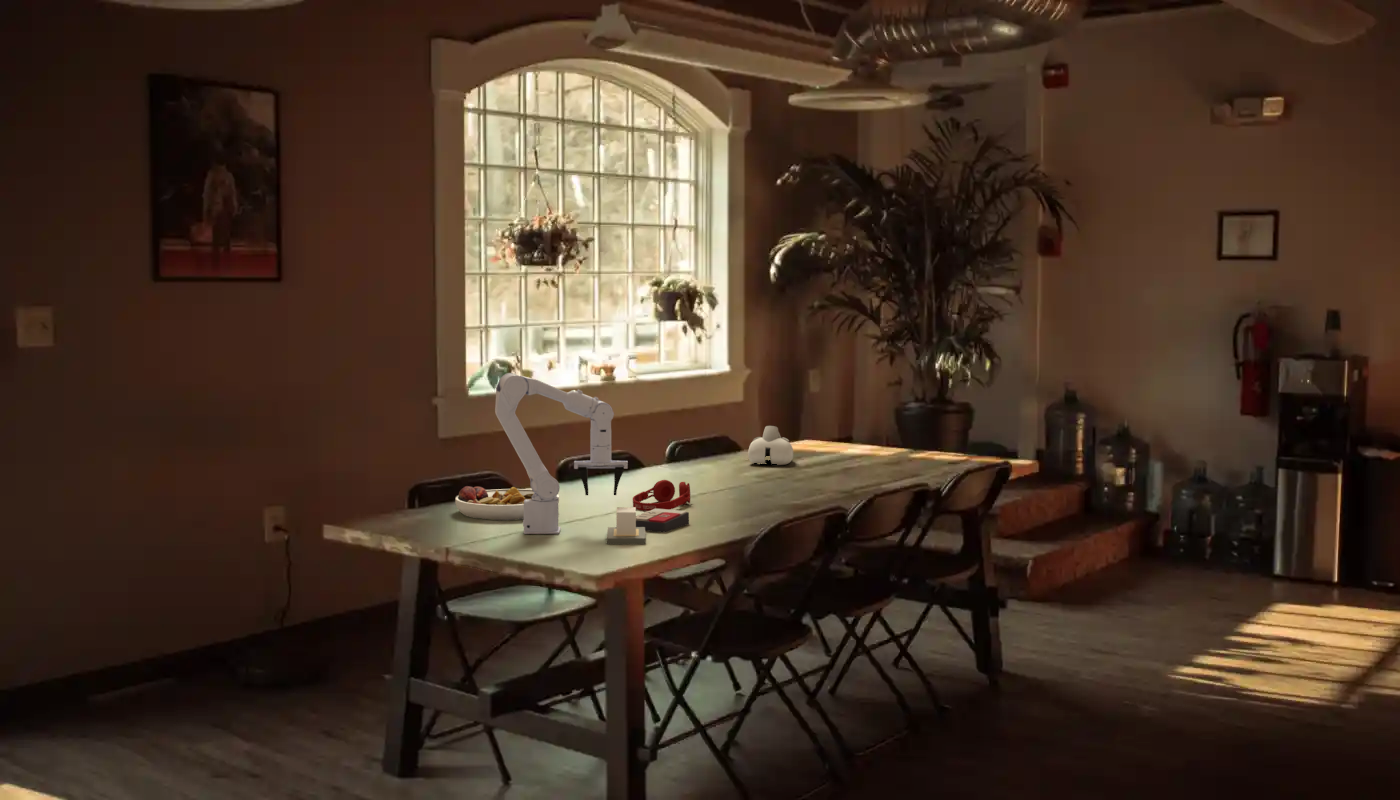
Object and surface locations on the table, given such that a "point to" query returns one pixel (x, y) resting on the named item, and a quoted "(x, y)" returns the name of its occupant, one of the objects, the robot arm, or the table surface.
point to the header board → (625, 536)
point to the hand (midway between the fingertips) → (601, 494)
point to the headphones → (663, 496)
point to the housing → (626, 520)
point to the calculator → (662, 520)
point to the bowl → (493, 502)
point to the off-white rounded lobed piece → (770, 448)
